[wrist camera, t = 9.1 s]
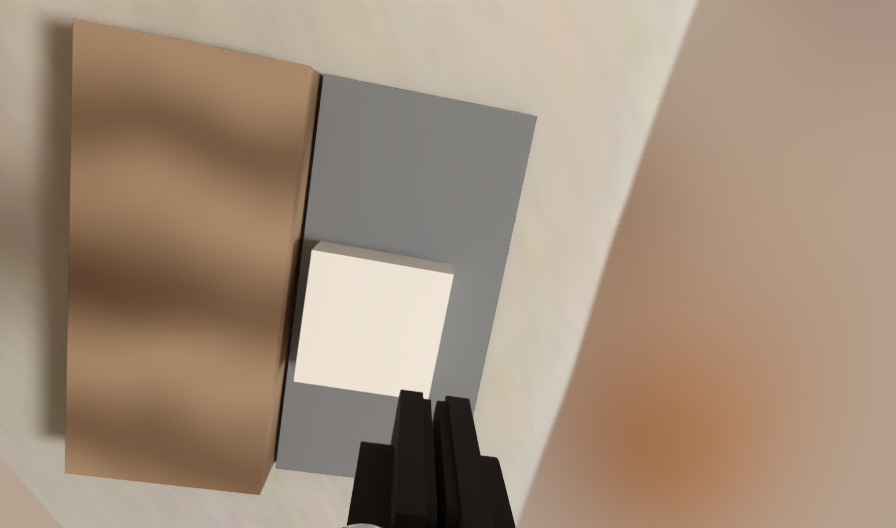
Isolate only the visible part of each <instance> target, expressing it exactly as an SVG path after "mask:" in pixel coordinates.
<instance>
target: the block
mask: <svg viewBox="0 0 896 528" xmlns="http://www.w3.org/2000/svg"><path fill="white" fill-rule="evenodd" d="M453 276H454V273H453V270H452V267H451V264H449V263H443V262H438V261H432V260H426V259H421V258H415V257H409V256H404V255H398V254H392V253H387V252H381V251H375V250H370V249H364V248H358V247H353V246H347V245H341V244H336V243H330V242H325V241H320V242H319V243H318V244H317V245H316V246H315V247H314V248H313V249H312V252H311V260H310V267H309V274H308V281H307V288H306V295H305V303H304V310H303V317H302V324H301V331H300V339H299V346H298V353H297V360H296V367H295V374H294V382H300V383H307V384H314V385H320V386H327V387H334V388H341V389H348V390H354V391H361V392H368V393H375V394H382V395H389V396H395V397H399V394H400V390H409V391H416V392H423V399H429V394H430V389H431V384H432V379H433V374H434V369H435V364H436V359H437V355H438V350H439V345H440V340H441V335H442V330H443V325H444V320H445V315H446V311H447V306H448V301H449V296H450V291H451V286H452V281H453Z"/></svg>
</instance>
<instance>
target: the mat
mask: <svg viewBox="0 0 896 528" xmlns="http://www.w3.org/2000/svg"><path fill="white" fill-rule="evenodd" d="M536 120H537V116H533V115H528V114H523V113H518V112H513V111H508V110H503V109H498V108H493V107H488V106H483V105H478V104H473V103H467V102H462V101H457V100H452V99H447V98H442V97H437V96H432V95H427V94H422V93H417V92H412V91H407V90H402V89H397V88H392V87H387V86H382V85H377V84H372V83H367V82H362V81H357V80H352V79H347V78H342V77H337V76H332V75H327V74H324V76H323V84H322V93H321V101H320V109H319V117H318V125H317V134H316V142H315V150H314V158H313V166H312V175H311V183H310V191H309V199H308V207H307V216H306V224H305V232H304V240H303V248H302V257H301V265H300V273H299V281H298V289H297V298H296V306H295V314H294V322H293V330H292V338H291V347H290V355H289V363H288V371H287V379H286V388H285V396H284V404H283V412H282V420H281V429H280V437H279V445H278V453H277V461H276V469H285V470H293V471H302V472H310V473H319V474H327V475H336V476H344V477H353V478H355V473H356V467H357V461H358V455H359V449H360V443H361V441H364V442H372V443H381V444H389V445H390V444H391V438H392V432H393V427H394V421H395V416H396V410H397V405H398V399H399V397H395V396H389V395H382V394H375V393H368V392H361V391H354V390H348V389H341V388H334V387H327V386H320V385H314V384H307V383H300V382H294V374H295V367H296V360H297V353H298V346H299V339H300V331H301V324H302V317H303V310H304V303H305V295H306V288H307V281H308V274H309V267H310V260H311V252H312V249H313V248H314V247H315V246H316V245H317V244H318V243H319V242H320V241H325V242H330V243H336V244H341V245H347V246H353V247H358V248H364V249H370V250H375V251H381V252H387V253H392V254H398V255H404V256H409V257H415V258H421V259H426V260H432V261H438V262H443V263H449V264H451V267H452V270H453V273H454V276H453V281H452V286H451V291H450V296H449V301H448V306H447V311H446V315H445V320H444V325H443V330H442V335H441V340H440V345H439V350H438V355H437V359H436V364H435V369H434V374H433V379H432V384H431V389H430V394H429V399H430V400H431V409H432V421H433V416H434V411H435V406H436V402H437V400H438V401H445V398H446V396H454V397H462V398H468V399H469V400H470V405H471V410H472V415H473V414H474V410H475V405H476V400H477V396H478V391H479V386H480V382H481V377H482V372H483V368H484V363H485V358H486V354H487V349H488V344H489V340H490V335H491V330H492V325H493V321H494V316H495V311H496V307H497V302H498V297H499V293H500V288H501V283H502V279H503V274H504V269H505V265H506V260H507V255H508V251H509V246H510V241H511V237H512V232H513V227H514V223H515V218H516V213H517V209H518V204H519V199H520V195H521V190H522V185H523V181H524V176H525V171H526V167H527V162H528V157H529V153H530V148H531V143H532V138H533V134H534V129H535V124H536Z"/></svg>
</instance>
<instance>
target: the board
mask: <svg viewBox="0 0 896 528" xmlns="http://www.w3.org/2000/svg"><path fill="white" fill-rule="evenodd" d="M320 80H321V74H320V73H318V72H317V71H316V70H314V69H313V68H312V67H310V66H308V65H303V64H298V63H293V62H288V61H283V60H278V59H273V58H268V57H263V56H258V55H253V54H248V53H243V52H238V51H233V50H228V49H223V48H218V47H213V46H208V45H203V44H198V43H193V42H188V41H183V40H178V39H173V38H168V37H163V36H158V35H153V34H147V33H142V32H137V31H132V30H127V29H122V28H117V27H112V26H107V25H102V24H97V23H92V22H87V21H82V20H77V19H73V53H72V108H71V164H70V219H69V275H68V330H67V386H66V441H65V473H68V474H77V475H86V476H95V477H104V478H113V479H122V480H131V481H140V482H149V483H157V484H166V485H175V486H184V487H193V488H202V489H211V490H220V491H229V492H238V493H247V494H256V495H260V493H261V491H262V489H263V486H264V484H265V482H266V479H267V477H268V475H269V473H270V470H271V468H272V466H273V464H274V460H275V452H276V444H277V435H278V427H279V419H280V411H281V402H282V394H283V386H284V377H285V369H286V361H287V353H288V344H289V336H290V328H291V320H292V311H293V303H294V295H295V286H296V278H297V270H298V262H299V253H300V245H301V237H302V229H303V220H304V212H305V204H306V196H307V187H308V179H309V171H310V162H311V154H312V146H313V138H314V129H315V121H316V113H317V105H318V96H319V88H320Z"/></svg>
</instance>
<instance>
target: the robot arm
mask: <svg viewBox="0 0 896 528" xmlns="http://www.w3.org/2000/svg"><path fill="white" fill-rule="evenodd" d="M343 528H516V527H515V523H514V519H513V515H512V511H511V507H510V503H509V499H508V495H507V491H506V487H505V483H504V479H503V475H502V471H501V467H500V463H499V461H498V459H497V458H496V457H489V456H481V455H480V450H479V445H478V440H477V435H476V430H475V425H474V420H473V415H472V410H471V405H470V400H469V399H468V398H462V397H454V396H446V398H445V401H438V400H437V402H436V406H435V411H434V416H433V421H432V409H431V400H430V399H423V392H416V391H409V390H400V394H399V399H398V405H397V410H396V416H395V421H394V427H393V432H392V438H391V444H390V445H389V444H381V443H372V442H364V441H361V443H360V449H359V455H358V461H357V467H356V473H355V479H354V485H353V491H352V497H351V503H350V509H349V516H348V522H347V526H345V527H343Z"/></svg>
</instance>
